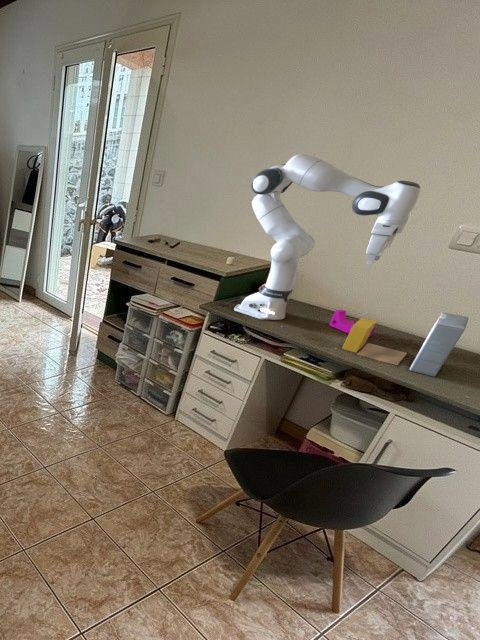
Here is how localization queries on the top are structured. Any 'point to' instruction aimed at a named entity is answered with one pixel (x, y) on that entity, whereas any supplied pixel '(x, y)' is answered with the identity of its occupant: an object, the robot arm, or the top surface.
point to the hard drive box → (439, 343)
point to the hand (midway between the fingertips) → (372, 262)
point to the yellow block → (358, 335)
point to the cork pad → (382, 354)
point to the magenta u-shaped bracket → (343, 322)
